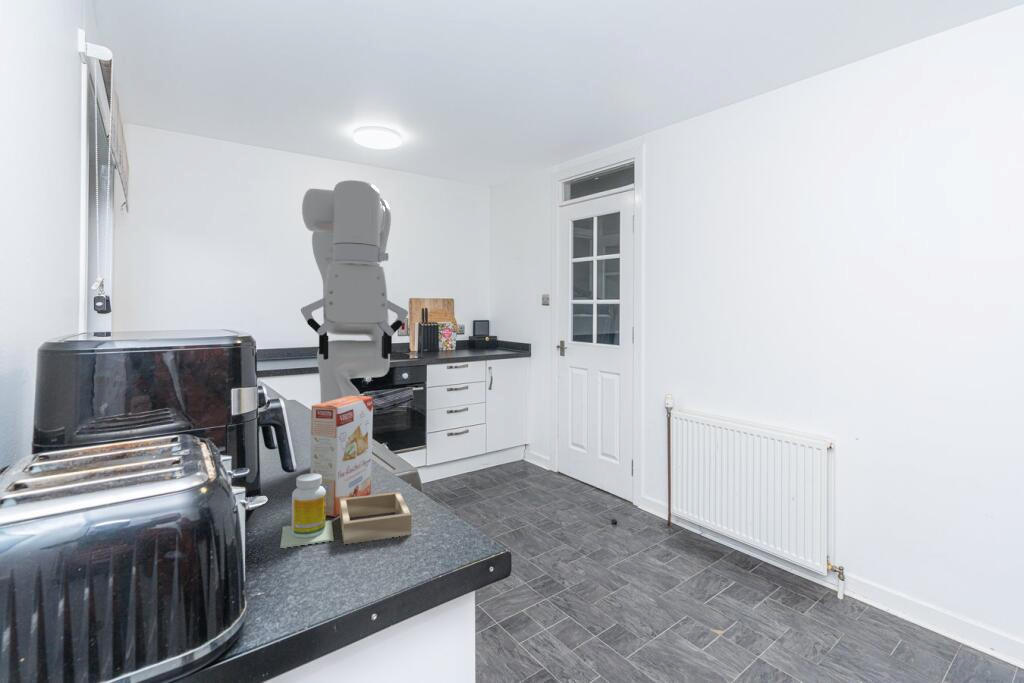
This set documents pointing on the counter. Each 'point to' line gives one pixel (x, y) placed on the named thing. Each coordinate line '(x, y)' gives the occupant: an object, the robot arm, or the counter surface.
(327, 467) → the cracker box
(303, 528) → the supplement bottle
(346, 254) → the robot arm
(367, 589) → the counter surface
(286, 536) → the green mat
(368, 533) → the birch box
